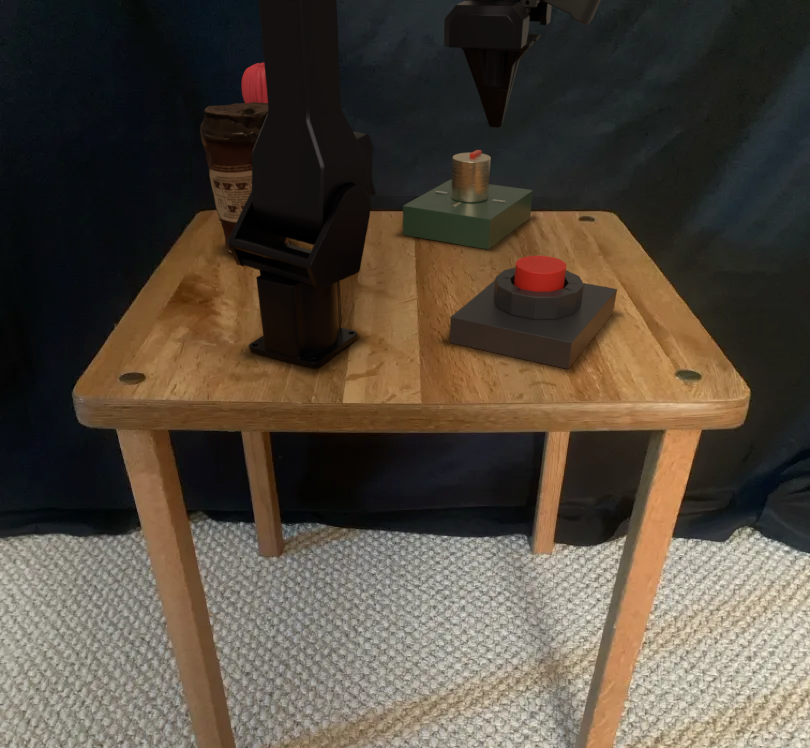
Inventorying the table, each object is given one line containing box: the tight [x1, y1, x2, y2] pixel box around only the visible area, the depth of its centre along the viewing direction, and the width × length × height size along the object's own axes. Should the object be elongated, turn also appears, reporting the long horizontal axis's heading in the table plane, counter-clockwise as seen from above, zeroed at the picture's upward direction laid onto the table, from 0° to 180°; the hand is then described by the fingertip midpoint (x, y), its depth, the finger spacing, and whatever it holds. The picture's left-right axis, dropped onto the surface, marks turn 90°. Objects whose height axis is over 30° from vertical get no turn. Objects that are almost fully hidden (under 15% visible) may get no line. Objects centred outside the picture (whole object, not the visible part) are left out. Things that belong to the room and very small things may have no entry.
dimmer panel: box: [402, 178, 534, 250], centre depth 86 cm, size 12×10×3 cm
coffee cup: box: [199, 102, 290, 254], centre depth 77 cm, size 9×8×13 cm
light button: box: [514, 255, 567, 292], centre depth 63 cm, size 4×4×2 cm
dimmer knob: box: [451, 149, 492, 202], centre depth 84 cm, size 4×4×4 cm
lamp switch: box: [449, 267, 618, 370], centre depth 65 cm, size 12×10×4 cm
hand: (495, 126), depth 73 cm, fingers closed
